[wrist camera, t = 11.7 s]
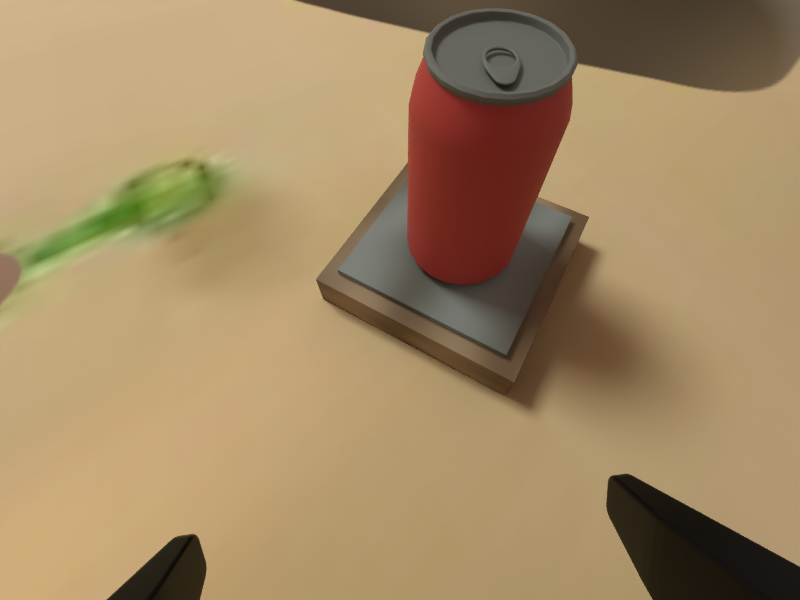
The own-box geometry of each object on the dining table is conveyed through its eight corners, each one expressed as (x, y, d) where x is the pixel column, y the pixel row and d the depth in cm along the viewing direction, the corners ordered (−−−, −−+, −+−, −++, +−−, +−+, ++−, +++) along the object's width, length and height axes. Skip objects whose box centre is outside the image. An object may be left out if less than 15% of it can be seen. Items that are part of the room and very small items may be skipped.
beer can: (407, 290, 24) (411, 108, 13) (406, 204, 27) (408, 0, 16) (519, 289, 24) (615, 105, 13) (505, 203, 27) (572, -2, 16)
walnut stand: (574, 239, 29) (592, 212, 26) (503, 394, 24) (516, 379, 21) (417, 174, 32) (418, 144, 29) (323, 298, 27) (314, 275, 24)
